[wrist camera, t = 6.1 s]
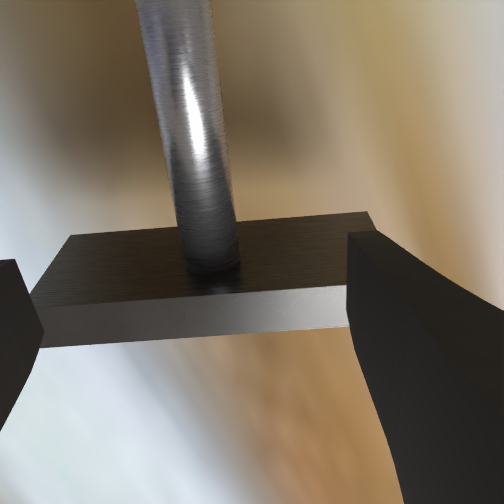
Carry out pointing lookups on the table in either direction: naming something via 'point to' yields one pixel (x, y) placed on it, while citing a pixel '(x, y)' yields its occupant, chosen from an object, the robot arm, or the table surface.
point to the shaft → (195, 227)
